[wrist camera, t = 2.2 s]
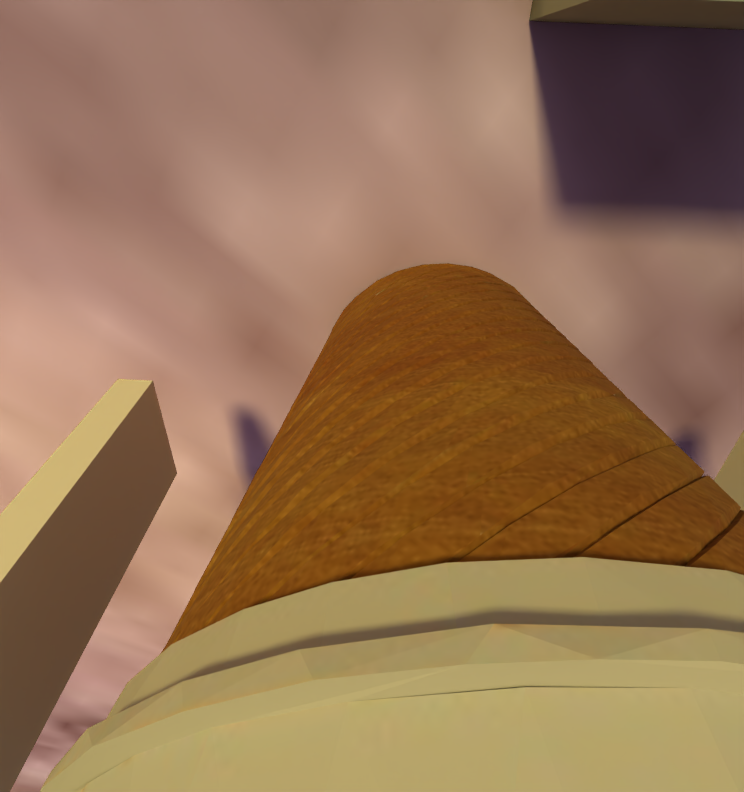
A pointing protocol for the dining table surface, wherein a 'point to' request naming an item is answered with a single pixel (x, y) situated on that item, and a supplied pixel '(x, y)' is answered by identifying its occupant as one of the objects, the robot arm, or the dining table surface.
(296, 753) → the disposable coffee cup
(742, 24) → the bin
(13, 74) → the dining table surface
